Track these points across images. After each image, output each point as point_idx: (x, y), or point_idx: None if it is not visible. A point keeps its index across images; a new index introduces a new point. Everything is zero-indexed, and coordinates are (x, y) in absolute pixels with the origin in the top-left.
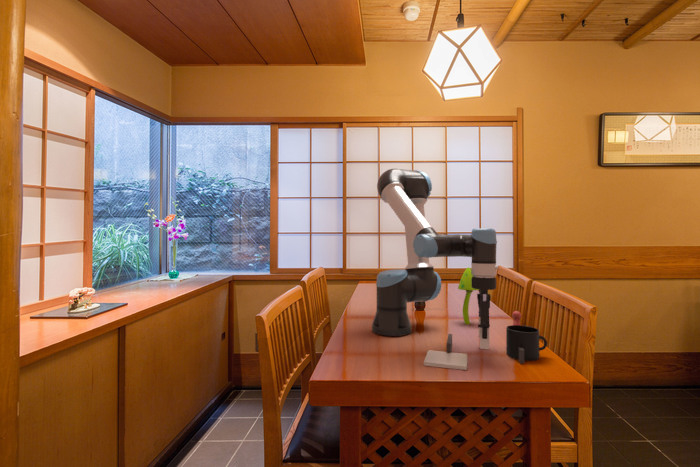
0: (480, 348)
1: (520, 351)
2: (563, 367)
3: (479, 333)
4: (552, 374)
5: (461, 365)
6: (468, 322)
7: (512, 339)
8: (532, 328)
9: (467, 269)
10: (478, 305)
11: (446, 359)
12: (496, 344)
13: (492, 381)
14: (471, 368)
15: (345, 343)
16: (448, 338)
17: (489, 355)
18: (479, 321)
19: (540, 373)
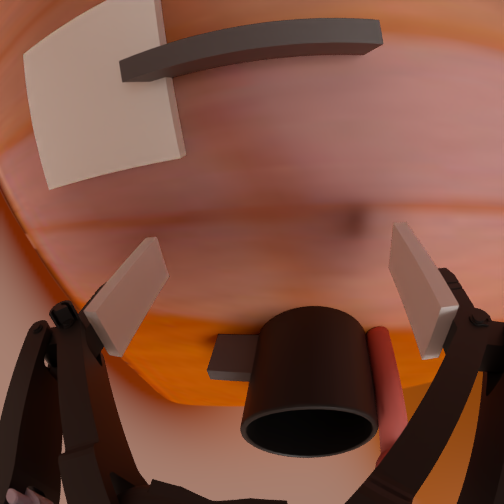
0: (146, 240)
1: (208, 367)
2: (244, 402)
3: (400, 238)
4: (174, 376)
5: (47, 171)
6: None
7: (259, 380)
8: (344, 447)
9: None
10: (65, 457)
11: (68, 101)
12: None
13: (42, 256)
14: (77, 195)
15: None
16: (238, 32)
17: (266, 247)
18: (429, 292)
19: (163, 359)
